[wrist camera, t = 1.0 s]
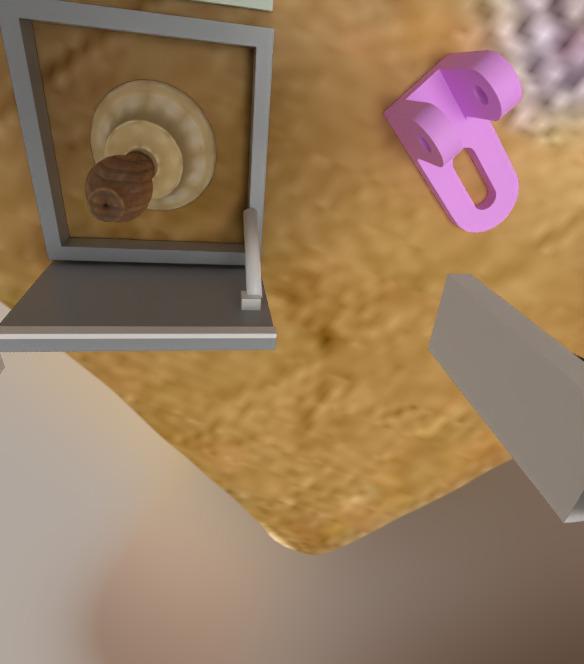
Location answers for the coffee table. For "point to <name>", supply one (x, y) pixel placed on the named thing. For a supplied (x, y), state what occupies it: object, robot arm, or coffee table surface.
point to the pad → (243, 4)
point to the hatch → (135, 255)
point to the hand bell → (147, 151)
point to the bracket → (461, 133)
